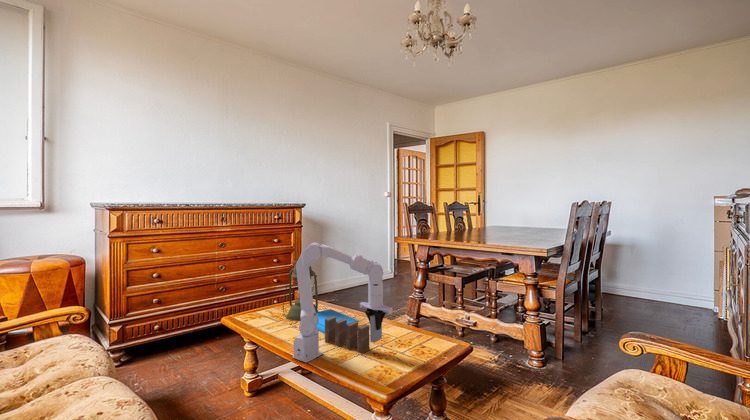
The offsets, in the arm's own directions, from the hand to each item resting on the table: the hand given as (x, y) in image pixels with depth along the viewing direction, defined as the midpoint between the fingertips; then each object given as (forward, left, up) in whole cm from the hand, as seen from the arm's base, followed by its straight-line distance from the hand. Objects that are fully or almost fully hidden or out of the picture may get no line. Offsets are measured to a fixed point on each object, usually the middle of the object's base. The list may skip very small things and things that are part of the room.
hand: (375, 328), depth 139 cm
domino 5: (0, 0, -5) cm, 5 cm away
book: (+15, +38, -11) cm, 42 cm away
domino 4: (0, +6, -10) cm, 12 cm away
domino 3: (0, +12, -10) cm, 16 cm away
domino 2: (0, +18, -10) cm, 21 cm away
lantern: (+17, +60, -10) cm, 63 cm away
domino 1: (0, +24, -10) cm, 26 cm away
